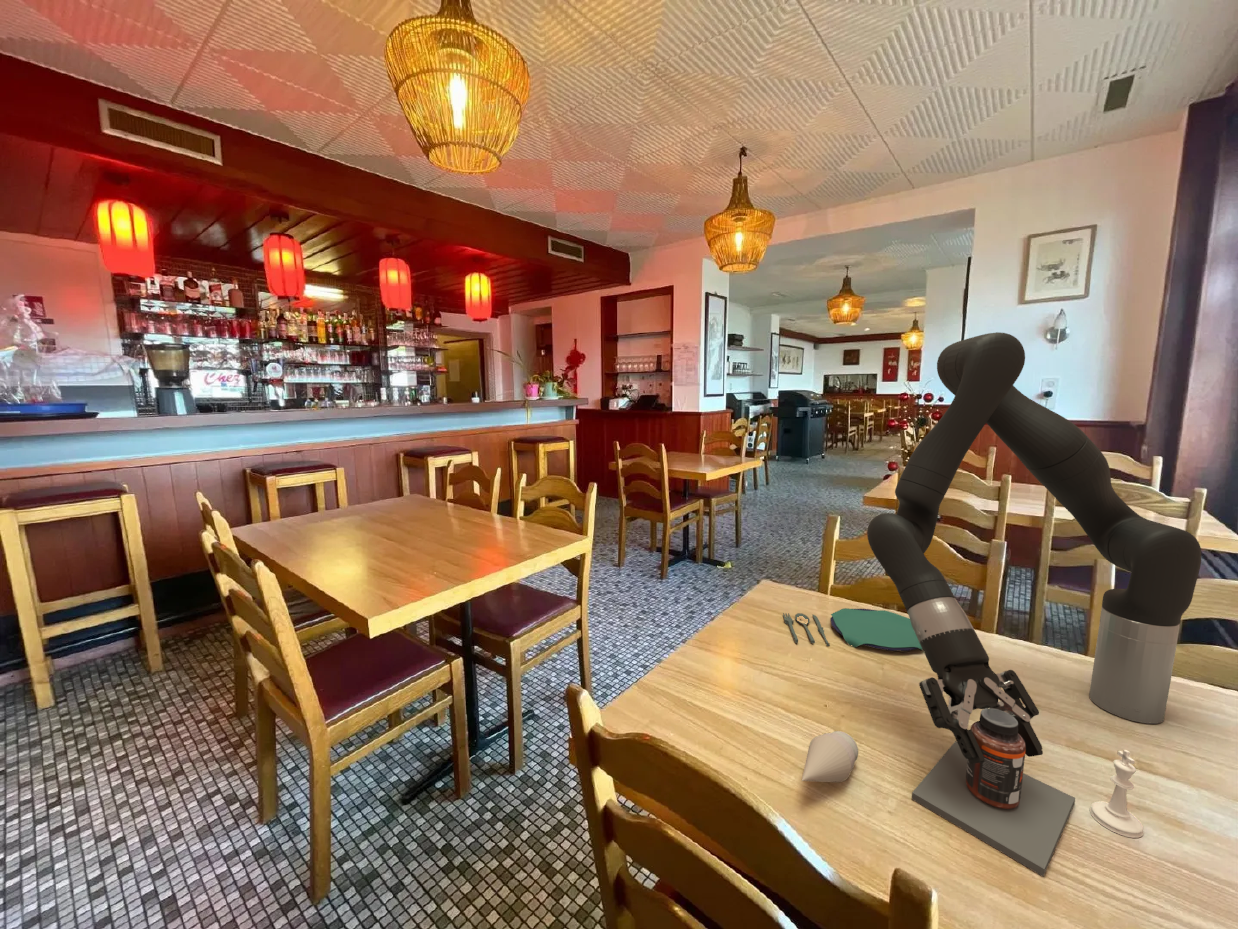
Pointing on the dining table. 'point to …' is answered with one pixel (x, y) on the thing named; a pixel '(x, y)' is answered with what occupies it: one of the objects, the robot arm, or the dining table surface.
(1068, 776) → the dining table surface
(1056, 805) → the mat
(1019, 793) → the supplement bottle
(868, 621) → the cutlery set
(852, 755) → the ice cream cone
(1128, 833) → the chess piece
